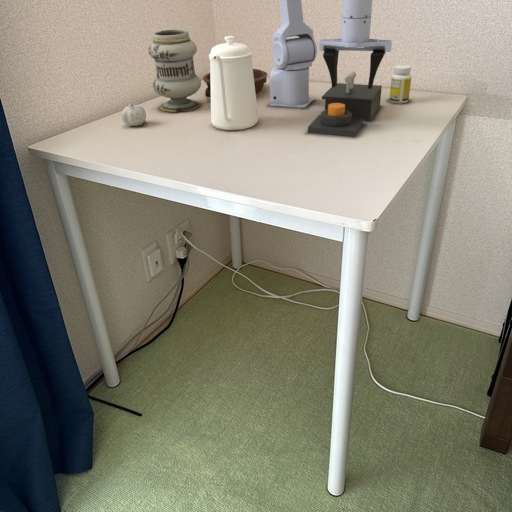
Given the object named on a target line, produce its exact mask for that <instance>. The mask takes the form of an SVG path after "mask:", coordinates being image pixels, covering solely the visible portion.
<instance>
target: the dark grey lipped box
mask: <svg viewBox="0 0 512 512" xmlns="http://www.w3.org/2000/svg"><path fill="white" fill-rule="evenodd" d="M382 89H383V88H381V90H380V91H379V93H378V94H377V96H376V97H375V99H374V100H373V101H372V103H371V102H355V101H340V100H325V101H324V111H325V110H328V105H329V104H331V103H342V104H345V110H348V111H350V112H351V113H352V117H356V118H363V122H367V123H369V122H372V120H373V118H374V116H375V115H376V113H377V112H378V110H379V109H380V107H381V100H382V99H381V98H382Z"/></svg>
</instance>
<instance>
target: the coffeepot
mask: <svg viewBox="0 0 512 512" xmlns="http://www.w3.org/2000/svg"><path fill="white" fill-rule="evenodd" d="M223 38H224V41H225V42H226V43H219V44H216V45H214V46H213V47H212V48H211V50H210V53H209V54H208V59H209V67H210V68H209V73H210V86H211V98H210V122H211V125H212V126H213V127H214V128H216V129H219V130H223V131H242V130H247V129H249V128H252V127H254V126H256V124H258V122H259V111H258V105H257V103H258V101H257V94H256V93H255V84H254V75H253V69H254V68H253V59H252V57H253V51H251V50H250V48H249V46H248V45H247V44H245V43H242V42H234V40H235V36H234V35H226V36H224V37H223Z"/></svg>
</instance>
